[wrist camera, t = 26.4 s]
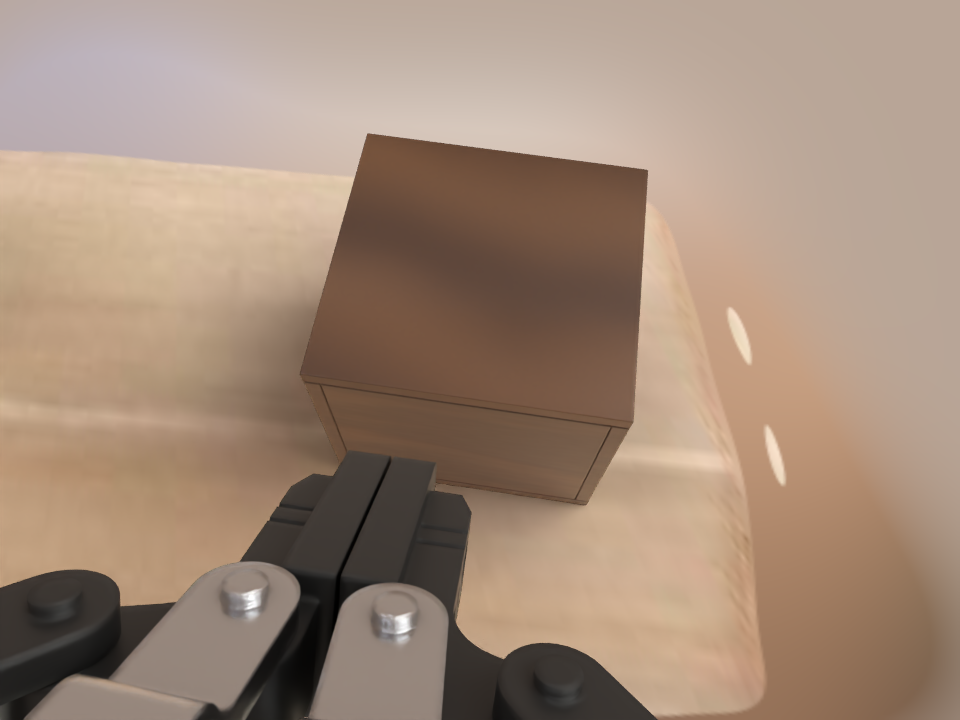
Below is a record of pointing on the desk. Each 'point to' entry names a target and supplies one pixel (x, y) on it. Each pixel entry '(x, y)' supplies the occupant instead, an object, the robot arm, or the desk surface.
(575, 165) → the lid
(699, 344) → the desk surface
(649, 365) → the desk surface
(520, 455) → the chest
